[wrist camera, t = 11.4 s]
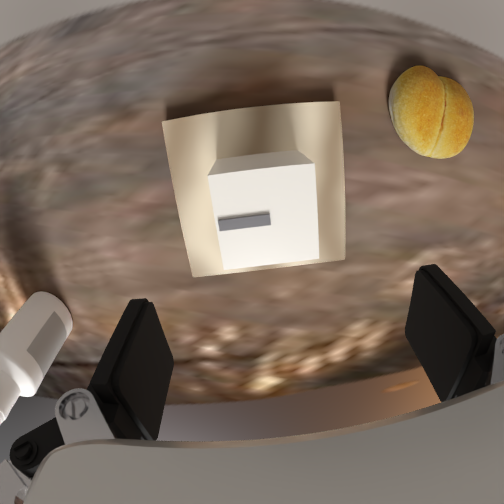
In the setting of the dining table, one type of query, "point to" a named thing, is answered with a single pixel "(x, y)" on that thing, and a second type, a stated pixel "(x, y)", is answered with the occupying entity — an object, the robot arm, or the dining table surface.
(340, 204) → the beige square plate
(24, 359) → the white plastic bottle
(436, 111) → the bread roll
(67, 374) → the dining table surface
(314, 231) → the white slotted cube
